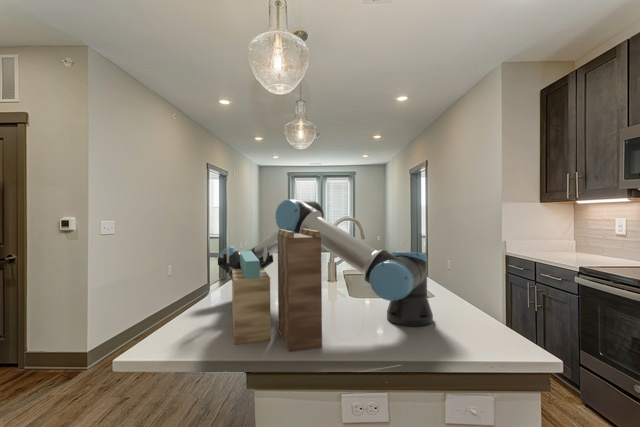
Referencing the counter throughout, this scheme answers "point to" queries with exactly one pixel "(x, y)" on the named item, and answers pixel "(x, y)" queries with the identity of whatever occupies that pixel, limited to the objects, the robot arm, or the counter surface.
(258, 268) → the bar
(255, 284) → the wooden toy block
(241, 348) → the counter surface
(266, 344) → the counter surface
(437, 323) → the counter surface
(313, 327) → the chute stand
